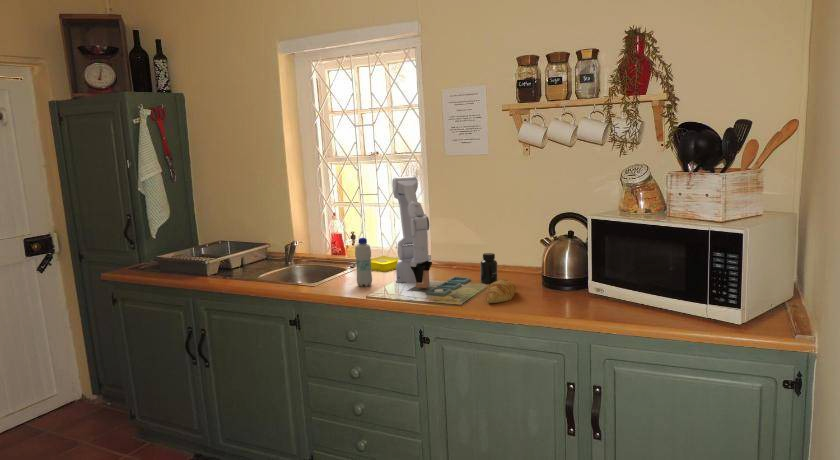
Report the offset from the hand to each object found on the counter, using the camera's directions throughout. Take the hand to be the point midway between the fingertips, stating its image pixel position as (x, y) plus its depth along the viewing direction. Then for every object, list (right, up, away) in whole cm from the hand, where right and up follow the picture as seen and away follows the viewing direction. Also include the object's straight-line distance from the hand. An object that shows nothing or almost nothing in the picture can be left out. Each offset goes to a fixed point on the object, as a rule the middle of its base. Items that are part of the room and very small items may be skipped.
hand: (421, 281), depth 226 cm
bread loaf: (+29, -5, -16) cm, 33 cm away
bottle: (-24, -3, +11) cm, 26 cm away
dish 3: (+15, -1, +11) cm, 19 cm away
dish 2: (+11, -3, +2) cm, 11 cm away
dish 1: (+6, -4, -7) cm, 10 cm away
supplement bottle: (+27, -2, +8) cm, 29 cm away
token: (+6, -4, -7) cm, 10 cm away
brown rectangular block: (0, -2, 0) cm, 2 cm away
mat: (0, -3, 0) cm, 3 cm away
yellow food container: (-18, +2, +47) cm, 50 cm away
